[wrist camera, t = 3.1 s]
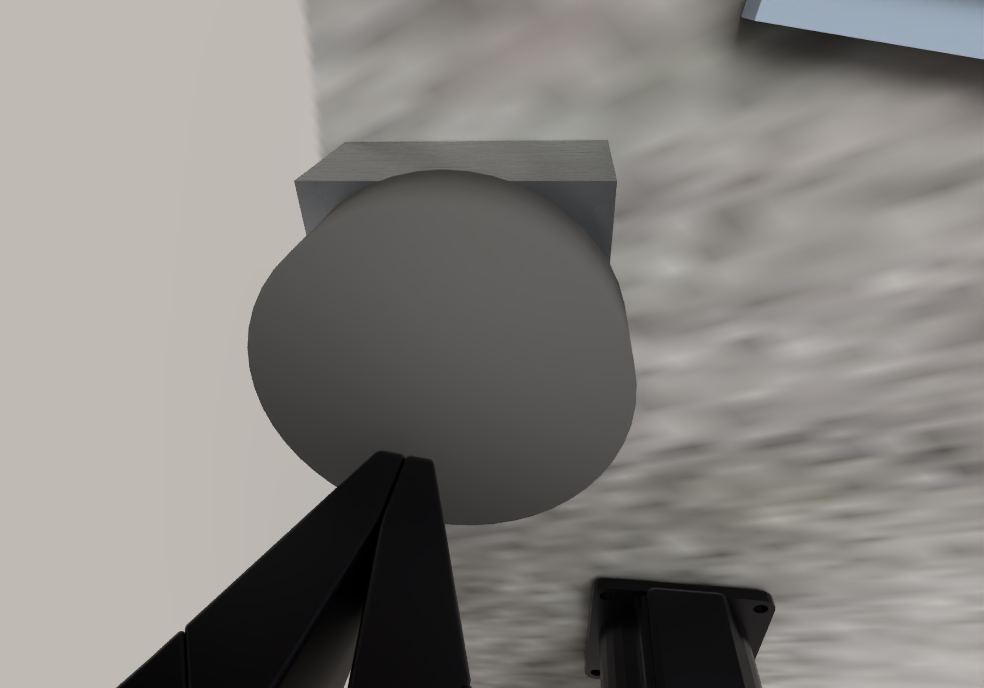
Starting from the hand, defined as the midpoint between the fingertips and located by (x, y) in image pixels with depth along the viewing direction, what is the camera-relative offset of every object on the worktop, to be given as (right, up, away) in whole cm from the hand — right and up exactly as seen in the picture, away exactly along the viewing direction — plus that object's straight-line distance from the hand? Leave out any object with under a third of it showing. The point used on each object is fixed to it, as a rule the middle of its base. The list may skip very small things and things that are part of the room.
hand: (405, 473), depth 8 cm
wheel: (+1, +4, +6) cm, 7 cm away
